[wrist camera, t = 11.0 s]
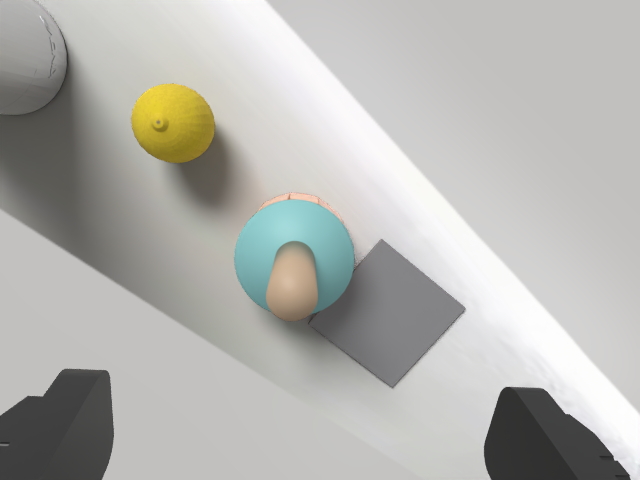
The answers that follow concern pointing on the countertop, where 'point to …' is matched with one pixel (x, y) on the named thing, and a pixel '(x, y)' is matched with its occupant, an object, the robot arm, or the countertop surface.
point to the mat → (387, 314)
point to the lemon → (173, 123)
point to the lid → (294, 258)
